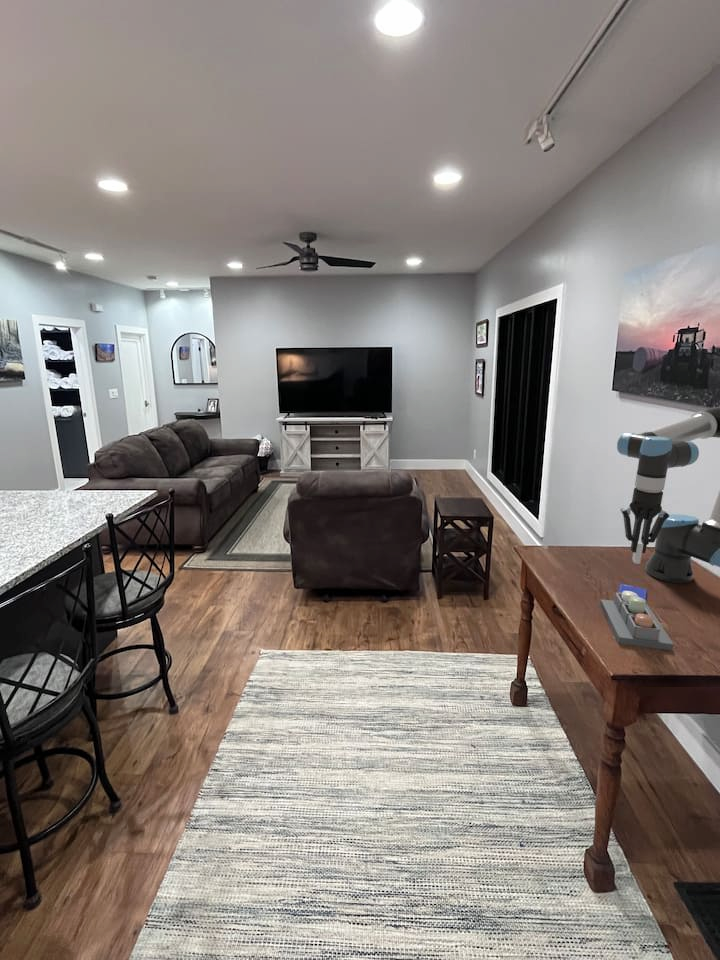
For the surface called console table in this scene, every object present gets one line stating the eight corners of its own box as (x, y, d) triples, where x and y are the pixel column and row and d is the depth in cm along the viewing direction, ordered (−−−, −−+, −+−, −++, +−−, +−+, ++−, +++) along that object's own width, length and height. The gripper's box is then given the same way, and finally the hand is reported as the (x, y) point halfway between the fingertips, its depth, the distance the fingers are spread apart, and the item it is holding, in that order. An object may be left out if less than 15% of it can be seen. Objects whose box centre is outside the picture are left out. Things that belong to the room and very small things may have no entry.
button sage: (641, 609, 147) (643, 597, 146) (646, 616, 142) (648, 604, 141) (625, 607, 148) (627, 595, 146) (630, 614, 143) (632, 602, 142)
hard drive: (620, 583, 171) (617, 598, 161) (647, 589, 166) (645, 604, 156) (620, 587, 171) (616, 602, 161) (646, 593, 167) (644, 609, 157)
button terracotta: (648, 626, 141) (650, 614, 139) (653, 635, 136) (655, 622, 135) (631, 624, 141) (633, 612, 140) (636, 632, 137) (638, 620, 136)
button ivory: (633, 602, 154) (635, 591, 153) (637, 609, 150) (639, 598, 148) (618, 601, 155) (620, 590, 154) (622, 608, 150) (624, 596, 149)
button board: (646, 610, 155) (649, 595, 154) (672, 650, 134) (676, 633, 133) (599, 604, 158) (602, 589, 157) (618, 643, 138) (621, 626, 136)
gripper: (668, 487, 144) (655, 558, 150) (621, 484, 147) (610, 554, 153) (678, 494, 137) (663, 569, 143) (628, 491, 140) (616, 564, 146)
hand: (636, 561), depth 148 cm, fingers closed
